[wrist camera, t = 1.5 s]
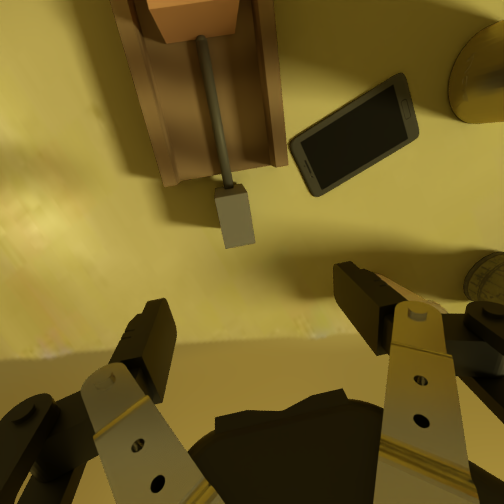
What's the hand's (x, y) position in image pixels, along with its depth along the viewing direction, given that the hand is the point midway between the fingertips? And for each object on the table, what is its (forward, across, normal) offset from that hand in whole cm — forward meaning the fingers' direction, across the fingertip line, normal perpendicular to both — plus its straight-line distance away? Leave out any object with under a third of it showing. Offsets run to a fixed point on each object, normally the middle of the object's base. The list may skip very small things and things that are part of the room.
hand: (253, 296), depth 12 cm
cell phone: (+20, -15, -5) cm, 25 cm away
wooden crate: (+19, 0, -14) cm, 24 cm away
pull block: (+19, 0, -10) cm, 21 cm away
